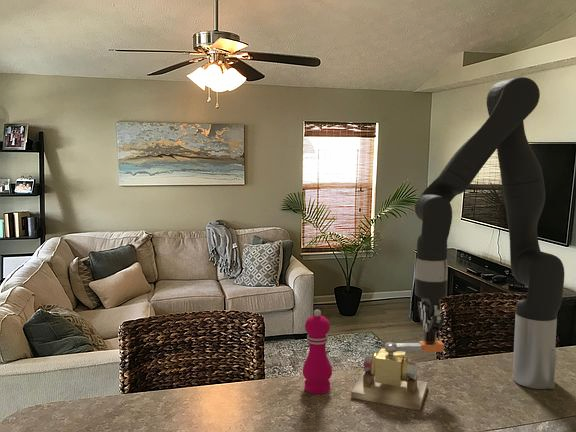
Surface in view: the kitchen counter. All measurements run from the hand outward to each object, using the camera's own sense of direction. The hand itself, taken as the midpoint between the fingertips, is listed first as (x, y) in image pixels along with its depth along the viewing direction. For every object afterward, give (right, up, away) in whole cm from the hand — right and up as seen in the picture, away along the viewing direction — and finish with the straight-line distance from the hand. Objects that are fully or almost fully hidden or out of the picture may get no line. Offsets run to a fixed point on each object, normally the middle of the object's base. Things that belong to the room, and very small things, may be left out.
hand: (429, 345), depth 123 cm
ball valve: (-10, -7, -3) cm, 13 cm away
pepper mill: (-28, -11, 0) cm, 30 cm away
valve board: (-10, -11, -2) cm, 15 cm away
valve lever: (-5, 0, -3) cm, 6 cm away
